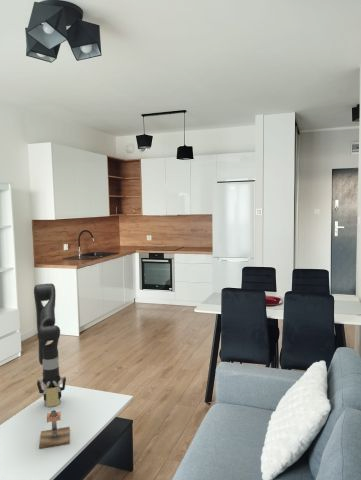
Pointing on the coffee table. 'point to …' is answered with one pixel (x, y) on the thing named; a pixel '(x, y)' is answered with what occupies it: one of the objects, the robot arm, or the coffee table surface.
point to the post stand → (54, 435)
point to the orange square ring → (51, 419)
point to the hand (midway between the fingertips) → (52, 399)
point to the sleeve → (52, 396)
